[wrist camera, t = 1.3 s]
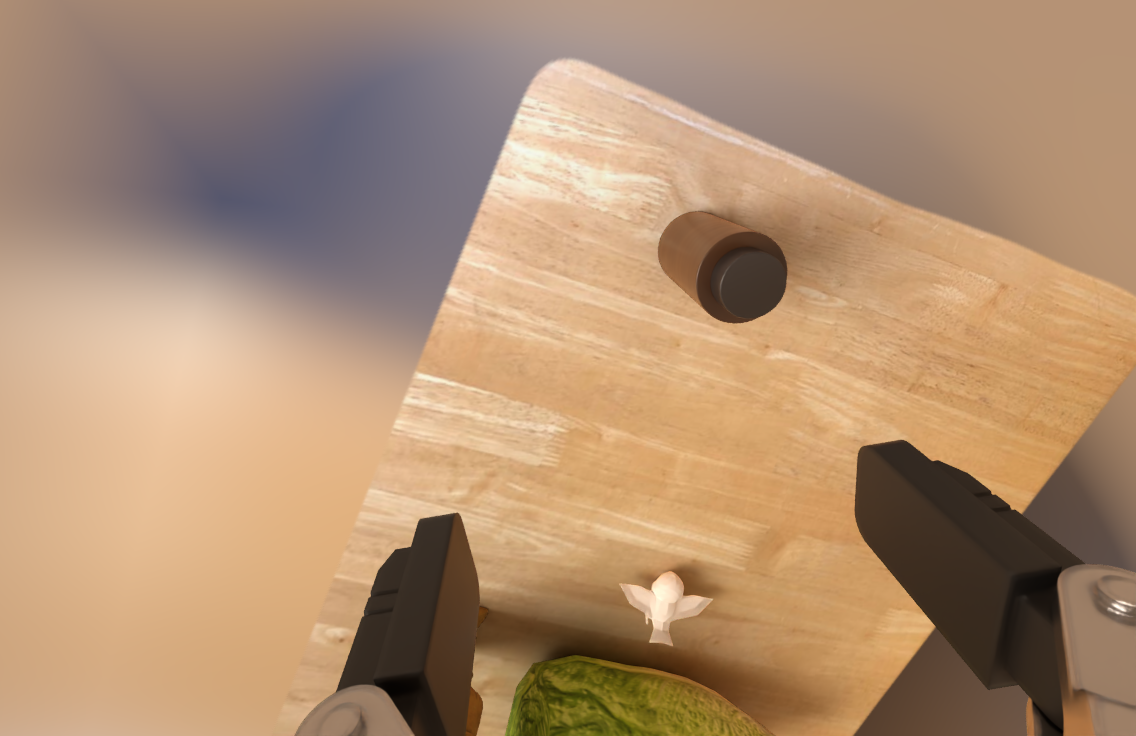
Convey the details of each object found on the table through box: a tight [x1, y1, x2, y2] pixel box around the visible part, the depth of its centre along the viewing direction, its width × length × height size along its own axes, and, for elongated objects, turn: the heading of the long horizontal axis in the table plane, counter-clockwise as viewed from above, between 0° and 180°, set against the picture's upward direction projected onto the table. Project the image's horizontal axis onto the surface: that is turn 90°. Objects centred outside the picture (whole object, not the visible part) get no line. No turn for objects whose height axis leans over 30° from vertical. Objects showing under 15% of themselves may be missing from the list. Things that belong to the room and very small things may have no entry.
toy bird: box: [619, 571, 713, 646], centre depth 44 cm, size 8×5×5 cm, turn 74°
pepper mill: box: [658, 211, 787, 323], centre depth 31 cm, size 5×5×10 cm
